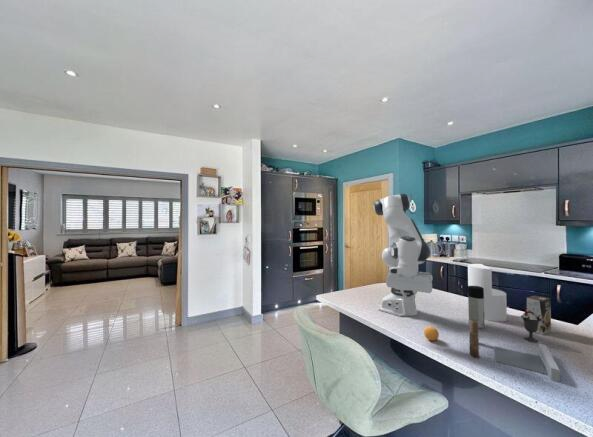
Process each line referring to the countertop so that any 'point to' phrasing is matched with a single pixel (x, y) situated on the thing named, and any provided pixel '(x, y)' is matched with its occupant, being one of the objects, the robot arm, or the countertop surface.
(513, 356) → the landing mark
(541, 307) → the coffee box
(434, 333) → the ball
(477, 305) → the spray can
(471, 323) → the post
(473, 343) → the post
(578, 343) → the countertop surface
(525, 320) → the sundae
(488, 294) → the cylinder
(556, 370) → the bar
